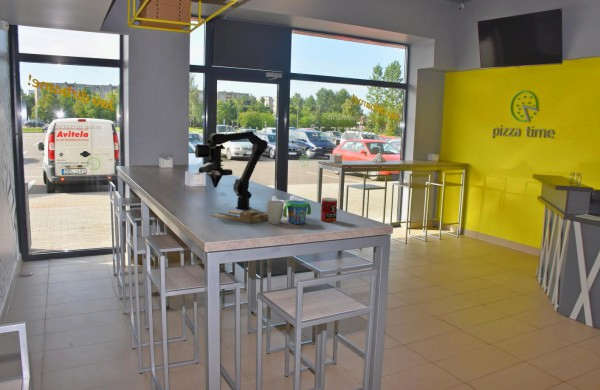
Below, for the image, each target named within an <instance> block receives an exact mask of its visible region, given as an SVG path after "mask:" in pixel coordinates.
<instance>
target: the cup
mask: <svg viewBox="0 0 600 390" xmlns="http://www.w3.org/2000/svg"><path fill="white" fill-rule="evenodd" d="M284 207H285V201H282V200H268V201H266V213H267V214H268V222H269V224H272V225H279V224H281V221H282V219H283V210H284Z"/></svg>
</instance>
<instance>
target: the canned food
mask: <svg viewBox="0 0 600 390" xmlns="http://www.w3.org/2000/svg"><path fill="white" fill-rule="evenodd" d="M320 205H321V209H320V221H321V222H324V223H336V222H337V214H338V213H337V212H338V211H337V210H338V198H336V197H321V203H320Z"/></svg>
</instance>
